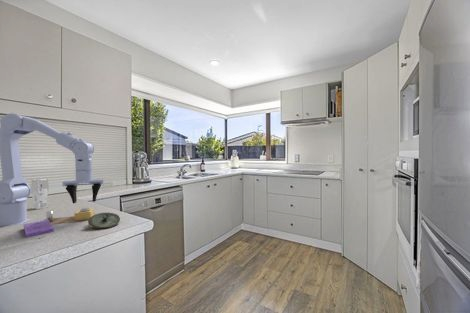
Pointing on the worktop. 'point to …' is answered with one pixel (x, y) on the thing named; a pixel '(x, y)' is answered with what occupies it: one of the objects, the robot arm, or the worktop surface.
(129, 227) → the worktop surface
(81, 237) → the worktop surface
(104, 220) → the lid
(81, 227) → the worktop surface
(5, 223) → the robot arm
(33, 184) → the beer glass
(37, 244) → the worktop surface
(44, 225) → the sponges
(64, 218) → the stand board
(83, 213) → the collar
